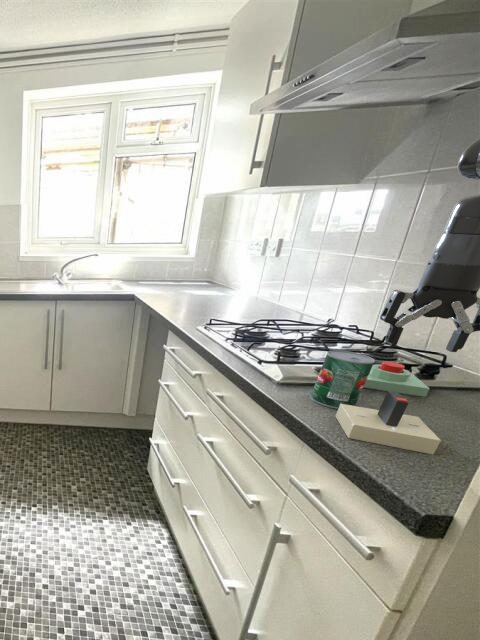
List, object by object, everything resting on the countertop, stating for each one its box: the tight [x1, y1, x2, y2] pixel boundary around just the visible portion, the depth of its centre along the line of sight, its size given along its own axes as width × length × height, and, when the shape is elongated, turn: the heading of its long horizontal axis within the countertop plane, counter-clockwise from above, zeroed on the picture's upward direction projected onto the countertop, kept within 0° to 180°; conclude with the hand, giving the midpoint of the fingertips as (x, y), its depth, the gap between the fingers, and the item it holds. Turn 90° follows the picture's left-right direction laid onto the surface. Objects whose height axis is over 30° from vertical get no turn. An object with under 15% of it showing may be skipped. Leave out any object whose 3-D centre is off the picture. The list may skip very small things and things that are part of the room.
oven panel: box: [335, 404, 442, 456], centre depth 80 cm, size 12×10×3 cm
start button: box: [380, 361, 405, 373], centre depth 101 cm, size 4×4×2 cm
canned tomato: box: [309, 350, 376, 410], centre depth 91 cm, size 8×8×11 cm
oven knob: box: [378, 391, 409, 427], centre depth 78 cm, size 5×2×5 cm, turn 152°
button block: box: [363, 363, 430, 398], centre depth 102 cm, size 12×10×4 cm
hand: (420, 347), depth 80 cm, fingers open, 8 cm apart
